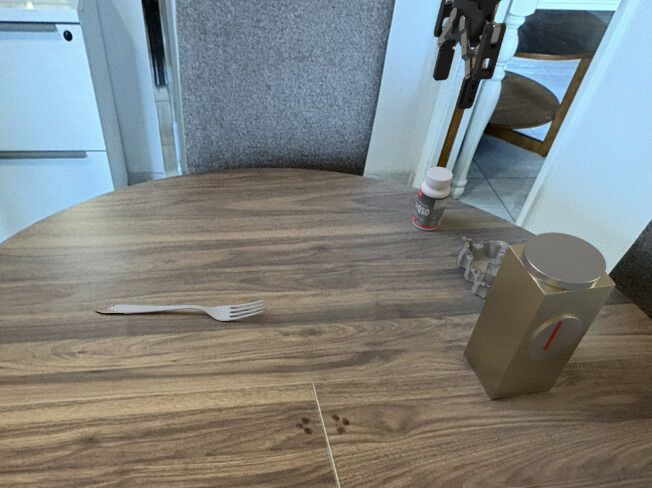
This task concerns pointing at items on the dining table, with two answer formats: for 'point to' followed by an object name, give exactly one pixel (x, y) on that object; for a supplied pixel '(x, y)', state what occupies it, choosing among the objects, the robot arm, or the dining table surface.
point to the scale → (537, 313)
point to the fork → (216, 312)
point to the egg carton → (482, 263)
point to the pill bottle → (432, 198)
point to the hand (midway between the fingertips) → (451, 93)
